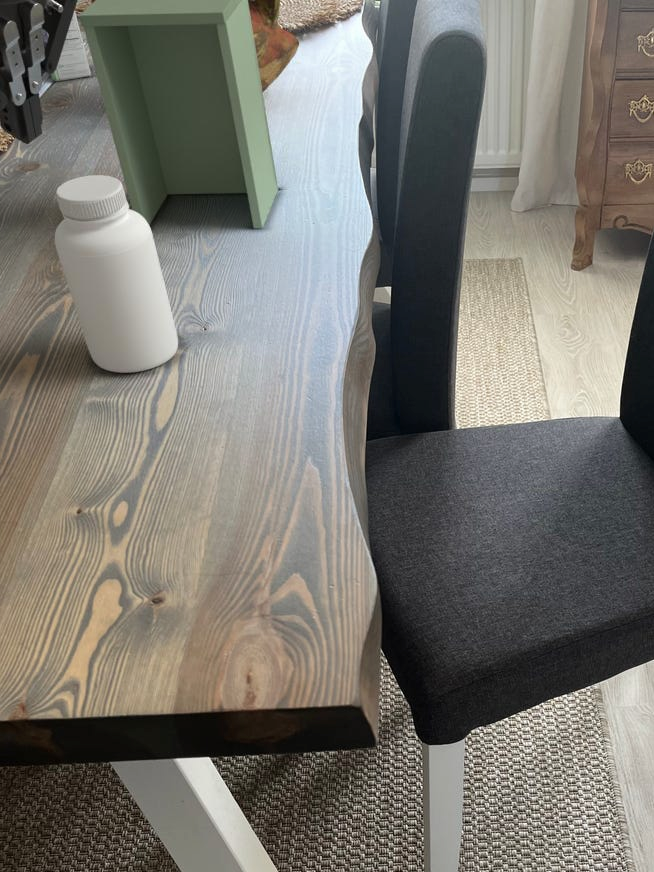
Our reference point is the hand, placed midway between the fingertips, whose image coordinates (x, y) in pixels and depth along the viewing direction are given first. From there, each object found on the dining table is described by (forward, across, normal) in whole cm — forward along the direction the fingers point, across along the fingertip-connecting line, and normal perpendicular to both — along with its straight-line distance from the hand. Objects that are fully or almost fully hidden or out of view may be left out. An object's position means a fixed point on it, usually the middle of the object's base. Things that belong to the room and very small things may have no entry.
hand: (24, 134), depth 76 cm
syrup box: (+56, -58, -50) cm, 95 cm away
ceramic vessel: (+44, -57, -23) cm, 76 cm away
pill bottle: (+19, 0, +8) cm, 21 cm away
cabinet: (+30, -28, -4) cm, 41 cm away
